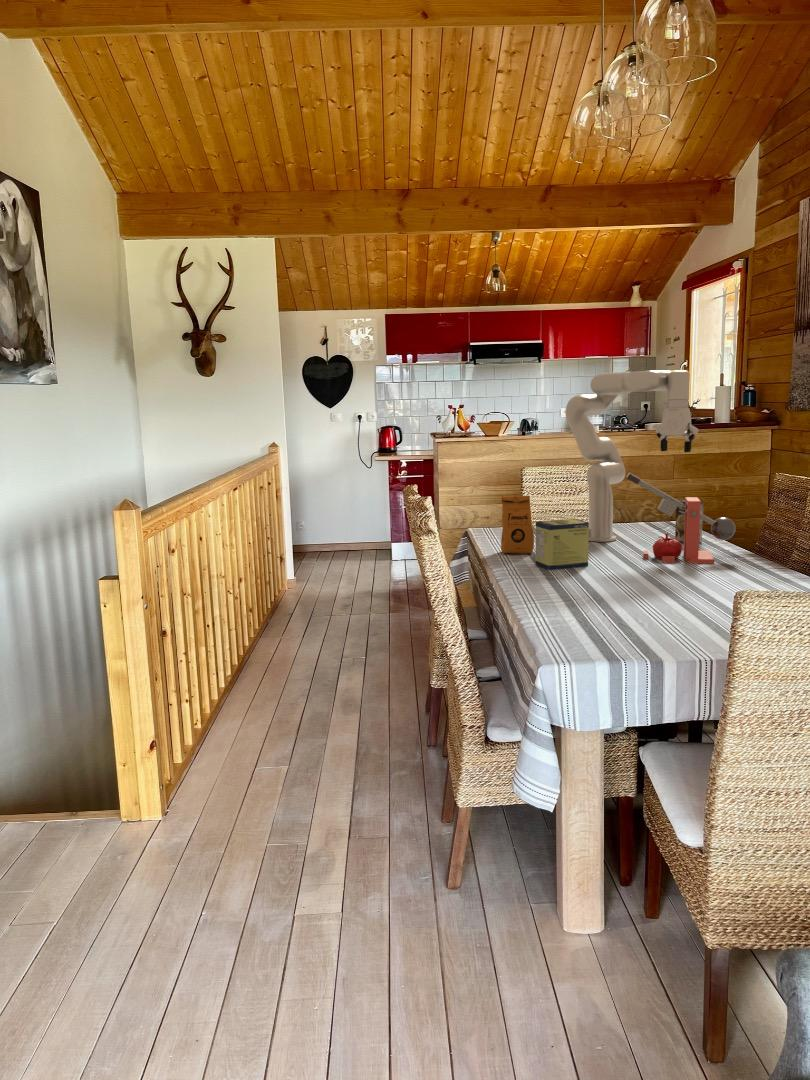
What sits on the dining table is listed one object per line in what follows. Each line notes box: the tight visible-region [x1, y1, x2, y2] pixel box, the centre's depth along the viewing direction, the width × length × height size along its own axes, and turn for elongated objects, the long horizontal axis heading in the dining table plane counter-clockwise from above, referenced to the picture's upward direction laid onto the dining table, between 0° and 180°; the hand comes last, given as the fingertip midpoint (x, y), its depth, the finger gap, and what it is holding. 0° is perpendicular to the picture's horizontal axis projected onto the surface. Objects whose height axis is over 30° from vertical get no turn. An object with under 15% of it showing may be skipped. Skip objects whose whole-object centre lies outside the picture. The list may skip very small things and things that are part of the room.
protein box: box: [535, 518, 589, 571], centre depth 274 cm, size 10×16×16 cm
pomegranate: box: [652, 532, 683, 560], centre depth 281 cm, size 10×10×9 cm
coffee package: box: [500, 495, 535, 555], centre depth 298 cm, size 10×12×22 cm
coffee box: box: [674, 499, 704, 543], centre depth 312 cm, size 9×6×16 cm
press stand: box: [643, 496, 715, 565], centre depth 279 cm, size 23×16×21 cm
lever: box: [625, 472, 736, 541], centre depth 278 cm, size 42×8×9 cm, turn 75°
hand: (675, 451), depth 291 cm, fingers open, 9 cm apart
